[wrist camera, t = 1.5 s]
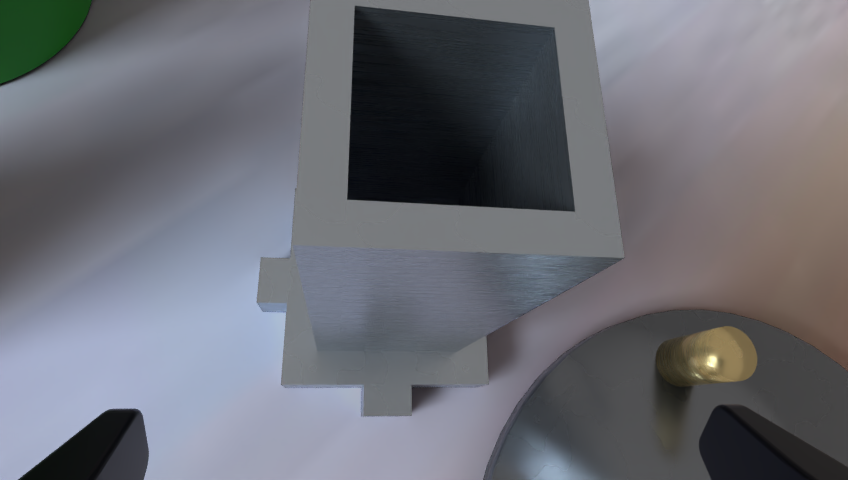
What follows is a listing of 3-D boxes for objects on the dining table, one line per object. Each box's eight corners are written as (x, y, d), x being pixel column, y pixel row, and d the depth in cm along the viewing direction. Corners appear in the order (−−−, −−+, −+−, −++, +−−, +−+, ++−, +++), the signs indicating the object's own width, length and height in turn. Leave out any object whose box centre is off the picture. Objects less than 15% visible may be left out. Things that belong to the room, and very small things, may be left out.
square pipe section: (504, 414, 20) (782, 405, 7) (253, 417, 18) (91, 411, 6) (491, 192, 22) (675, -74, 10) (274, 180, 21) (193, -145, 9)
